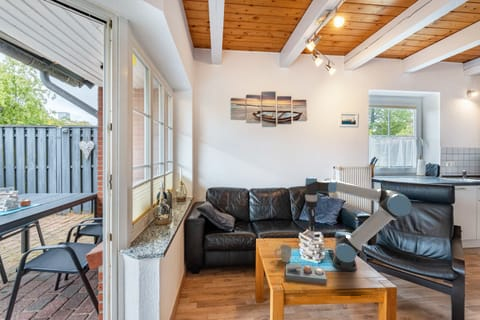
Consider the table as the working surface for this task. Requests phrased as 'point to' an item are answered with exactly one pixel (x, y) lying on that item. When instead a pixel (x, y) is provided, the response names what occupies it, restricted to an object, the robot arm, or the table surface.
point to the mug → (284, 252)
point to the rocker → (294, 266)
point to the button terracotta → (307, 269)
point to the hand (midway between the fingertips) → (311, 235)
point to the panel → (306, 275)
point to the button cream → (319, 271)
